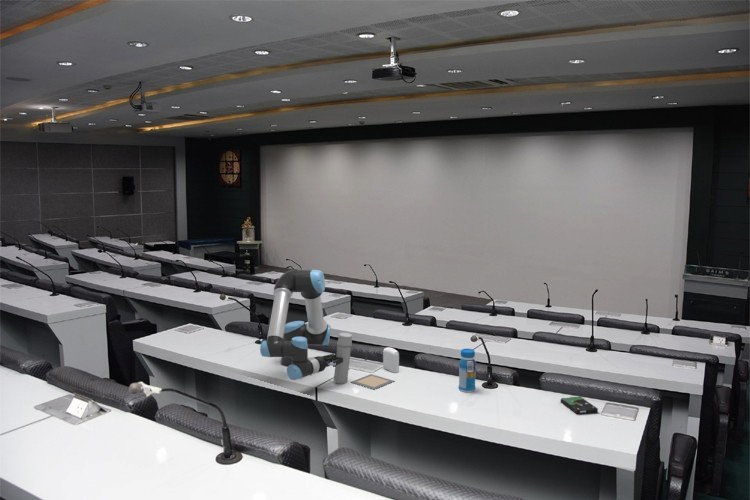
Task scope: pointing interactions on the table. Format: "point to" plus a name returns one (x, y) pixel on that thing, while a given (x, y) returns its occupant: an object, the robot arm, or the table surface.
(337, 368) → the water bottle
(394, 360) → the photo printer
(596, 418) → the table surface
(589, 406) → the disk drive
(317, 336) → the robot arm
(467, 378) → the beverage bottle
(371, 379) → the pad
